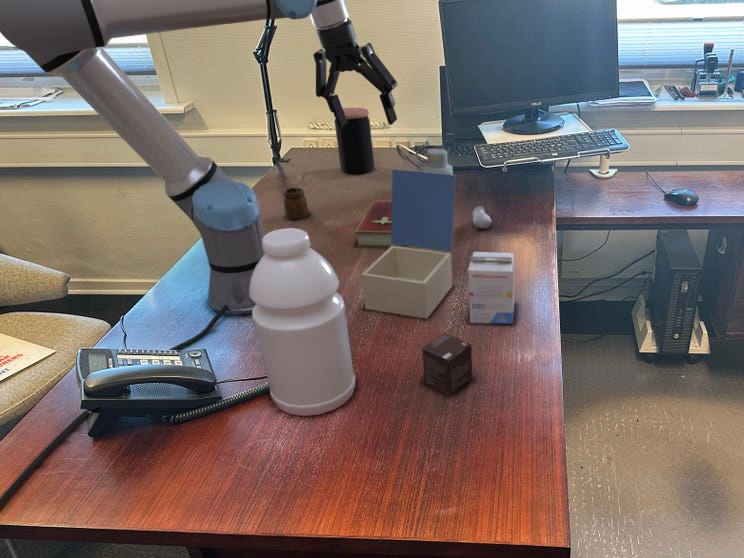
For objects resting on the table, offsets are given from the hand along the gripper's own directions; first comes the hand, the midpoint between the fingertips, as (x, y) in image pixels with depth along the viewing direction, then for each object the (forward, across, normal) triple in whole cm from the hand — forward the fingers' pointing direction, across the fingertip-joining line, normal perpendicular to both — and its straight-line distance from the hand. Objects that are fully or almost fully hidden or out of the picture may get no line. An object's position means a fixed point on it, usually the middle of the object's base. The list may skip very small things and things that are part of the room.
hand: (367, 123), depth 146 cm
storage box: (+25, -18, +30) cm, 43 cm away
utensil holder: (+24, +32, +1) cm, 40 cm away
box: (+23, -39, +54) cm, 70 cm away
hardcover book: (+28, +5, 0) cm, 29 cm away
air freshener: (+35, +9, -35) cm, 50 cm away
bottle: (+18, -20, +64) cm, 70 cm away
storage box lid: (+11, -19, +18) cm, 29 cm away
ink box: (+28, -36, +30) cm, 55 cm away
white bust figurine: (+34, -16, -11) cm, 39 cm away
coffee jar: (+31, +39, -38) cm, 63 cm away
